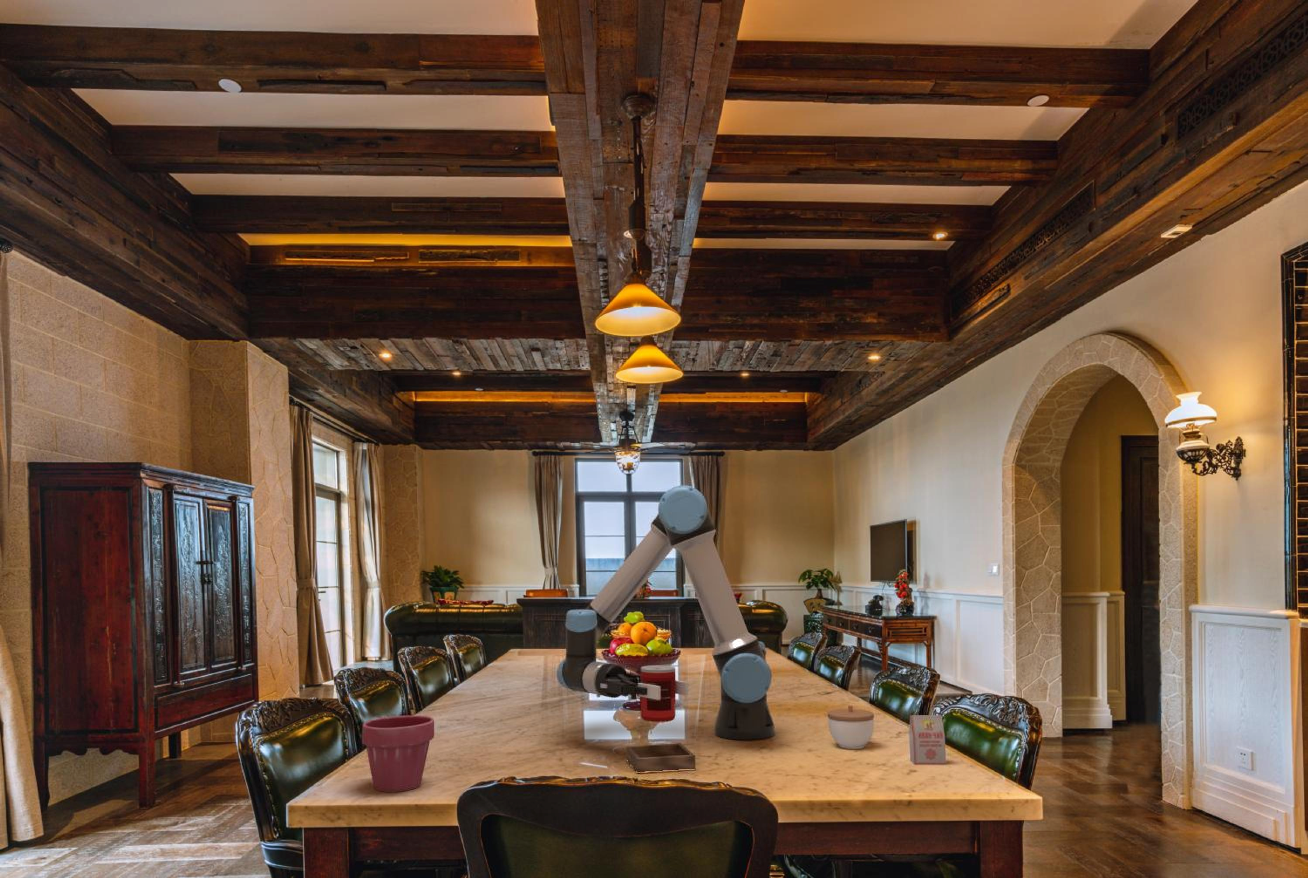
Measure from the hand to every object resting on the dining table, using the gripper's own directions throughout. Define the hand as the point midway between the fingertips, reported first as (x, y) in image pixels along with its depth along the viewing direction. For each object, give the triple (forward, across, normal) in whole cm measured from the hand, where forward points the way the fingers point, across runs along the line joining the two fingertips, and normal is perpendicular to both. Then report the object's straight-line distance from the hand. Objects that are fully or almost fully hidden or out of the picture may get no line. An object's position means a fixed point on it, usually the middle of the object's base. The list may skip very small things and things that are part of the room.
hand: (673, 690), depth 191 cm
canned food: (-5, 0, -7) cm, 8 cm away
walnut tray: (-5, 0, -16) cm, 17 cm away
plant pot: (-29, +49, -17) cm, 60 cm away
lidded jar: (+14, -45, -16) cm, 50 cm away
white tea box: (+35, -43, -16) cm, 58 cm away
